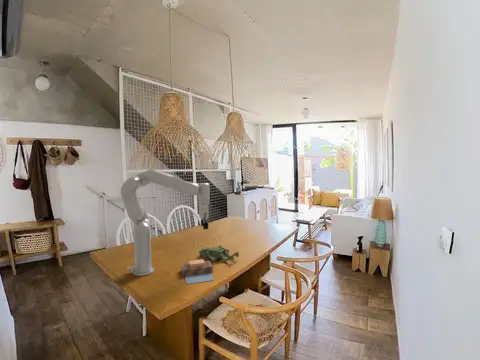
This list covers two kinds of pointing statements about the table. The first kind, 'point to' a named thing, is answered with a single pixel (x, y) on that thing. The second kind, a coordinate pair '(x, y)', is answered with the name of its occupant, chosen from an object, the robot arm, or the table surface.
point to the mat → (199, 278)
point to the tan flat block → (196, 263)
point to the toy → (217, 253)
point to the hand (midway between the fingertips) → (204, 227)
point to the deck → (197, 269)
